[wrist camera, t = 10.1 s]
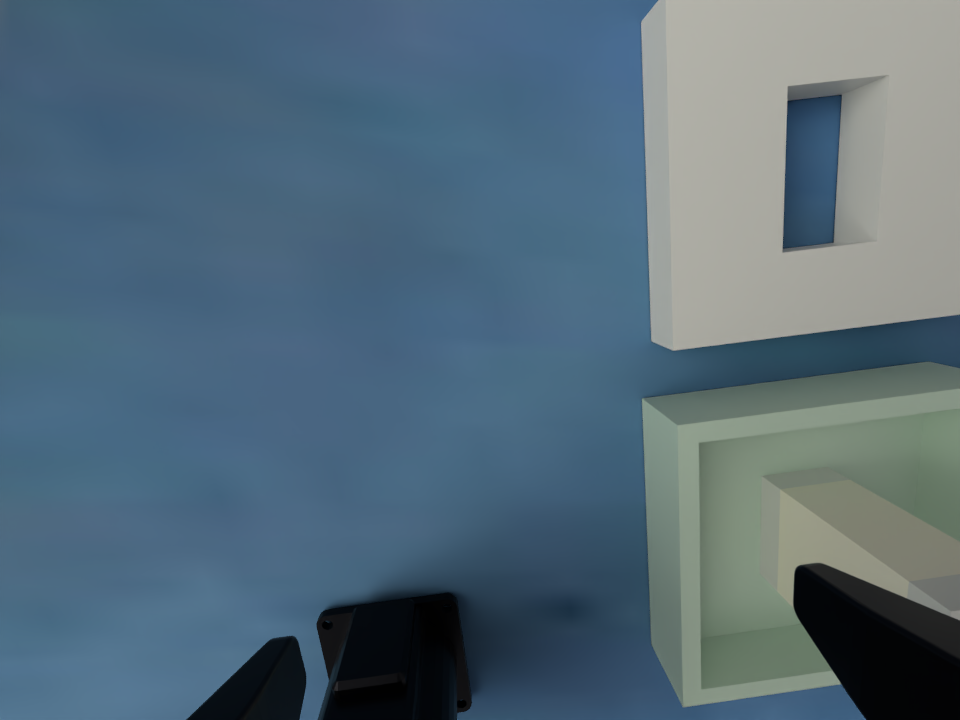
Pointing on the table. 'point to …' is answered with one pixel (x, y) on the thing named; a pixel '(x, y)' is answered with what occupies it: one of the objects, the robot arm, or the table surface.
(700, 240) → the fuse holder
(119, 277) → the table surface
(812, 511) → the block
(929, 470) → the parts tray
